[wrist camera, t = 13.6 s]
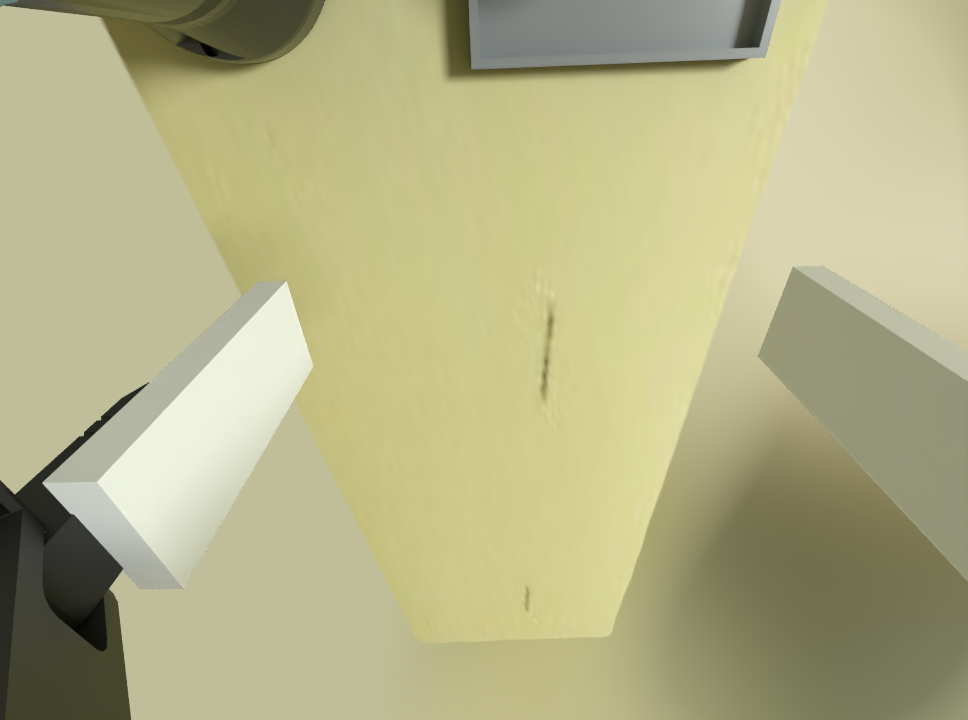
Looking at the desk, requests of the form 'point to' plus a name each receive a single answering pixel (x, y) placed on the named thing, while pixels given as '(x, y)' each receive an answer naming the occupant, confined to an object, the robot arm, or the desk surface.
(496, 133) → the desk surface
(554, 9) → the tray
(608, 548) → the desk surface
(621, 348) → the desk surface
